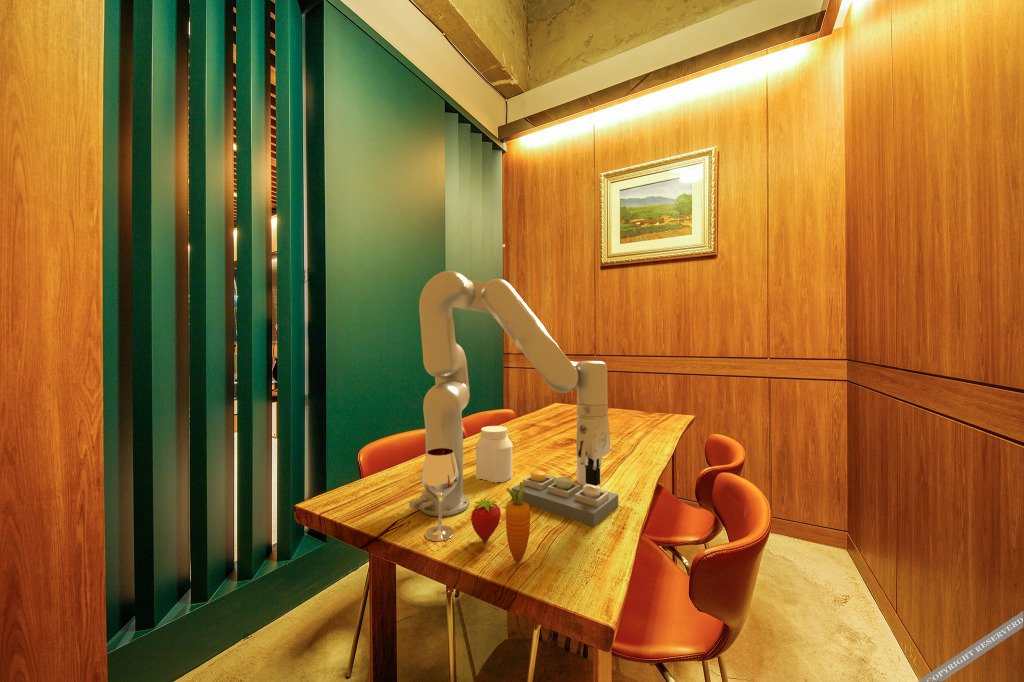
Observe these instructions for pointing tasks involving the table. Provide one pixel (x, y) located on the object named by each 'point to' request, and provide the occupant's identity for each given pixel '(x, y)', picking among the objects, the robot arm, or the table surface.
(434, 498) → the robot arm
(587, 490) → the cream button
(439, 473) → the wineglass
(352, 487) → the table surface
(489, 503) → the strawberry
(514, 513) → the carrot
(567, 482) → the sage button
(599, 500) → the button panel
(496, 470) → the jar
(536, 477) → the amber button
